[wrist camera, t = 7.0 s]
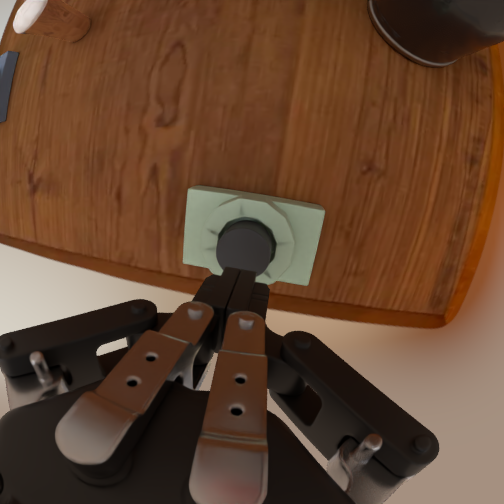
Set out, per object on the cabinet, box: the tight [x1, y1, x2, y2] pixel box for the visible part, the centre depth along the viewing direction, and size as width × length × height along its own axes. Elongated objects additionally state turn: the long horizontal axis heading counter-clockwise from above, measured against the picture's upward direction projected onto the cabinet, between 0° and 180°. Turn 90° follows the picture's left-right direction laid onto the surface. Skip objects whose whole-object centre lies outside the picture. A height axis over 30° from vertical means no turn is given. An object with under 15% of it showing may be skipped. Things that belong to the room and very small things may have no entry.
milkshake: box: [13, 0, 91, 42], centre depth 12 cm, size 4×5×10 cm
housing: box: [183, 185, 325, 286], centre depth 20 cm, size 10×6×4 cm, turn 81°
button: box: [216, 220, 272, 277], centre depth 18 cm, size 3×3×2 cm
